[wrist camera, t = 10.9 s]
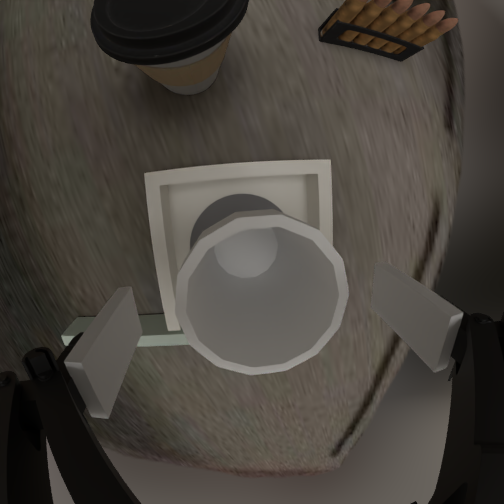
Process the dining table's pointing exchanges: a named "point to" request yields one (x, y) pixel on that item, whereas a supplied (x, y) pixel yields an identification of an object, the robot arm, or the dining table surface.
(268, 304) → the foam cup
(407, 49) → the ammunition clip
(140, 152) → the dining table surface
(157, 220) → the housing
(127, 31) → the coffee cup
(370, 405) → the dining table surface
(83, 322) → the gate
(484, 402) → the robot arm
